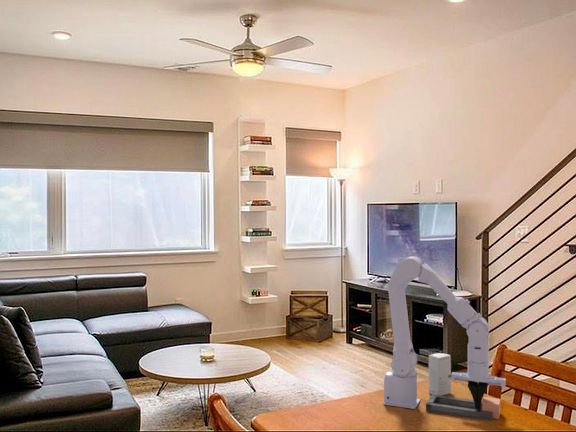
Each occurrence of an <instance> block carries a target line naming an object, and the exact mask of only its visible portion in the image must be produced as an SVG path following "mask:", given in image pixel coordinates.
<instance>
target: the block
mask: <svg viewBox="0 0 576 432" xmlns="http://www.w3.org/2000/svg"><path fill="white" fill-rule="evenodd" d="M482 410H483V411H490V412H493V419H494V420H495V419H496V420H500V418H501V417H500V415H501V398H497V397H496V398H495V397H488V396H483V398H482Z"/></svg>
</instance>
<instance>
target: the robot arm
mask: <svg viewBox="0 0 576 432" xmlns="http://www.w3.org/2000/svg"><path fill="white" fill-rule="evenodd" d="M416 278H417V281H416V282H419V283H421V284H422V283H423V284H427V286H429V287H430V288H431V289H432V290H433V291H434V292H435V293H436V294H437V295H438V296H439V297H440V298H441V299H442V300H443V301H444V303H446V304H447V311H448V312H449V314H450V315H451V316H452V317H453V318H454V319H455V320H456V321H457V322H458V324H459V325H460V326H461V327H462V328H464V329H466V335H467V336H468V343H467V372H457V371H456V372H455V371H451V382H452V381H454V382H456V381H458V382H467V388H468V390H469V392H470V394H471V396H472V400H474V404H475V409H476V410H477V409H479V410H480V408H481V401H482V402H483V398H484V395H485V393H486V391H487V389H488V386H489V385H491V386H500V387H502V388H506V378H505V377H498V376H494V375H490V373H489V372H490V371H489V370H490V369H489V366H490V365H489V364H490V362H489V361H490V357H489V356H490V355H489V354H490V349H489V347H490V345H489V335H490V325H489V323H488V321H487V319H486V318H484V317H482V314H481V313H480V312H477V311H476V310H475V309H474V308H473V307H472V305H470V303H471V301H470V300H469V299H467V298H466V299H465V298H464V297H462V296H456V295H455V294H454V293H453V291H451V289H450V288H449V287H448V286H447V284H446V283H445V282H444V281H443V279H442V278H441V277H440V276H439V275H438V274H437V272H435V271H434V269H432V267H431V266H430V265H429V264H427V263H426V262H424V260H423V259H422V258H421V257H419V256H417V255H411V256H408V257H407V258H404V259H401V261H400V262H399V263H398V264H397V265H395V267H394V270H393V273H392V274H391V276H390V279H389V280H388V282H387V289H388V290H387V291H388V301H389V310H390V318H391V325H392V326H391V327H392V334H393V335H392V337H393V349H392V360H391V364H390V366H391V370H392V371H386V373H385V374H384V379H383V405H384V406H385V405H386V406H393V407H398V408H404V409H405V408H406V409H410V410H416V408H417V407H418V406H419V403H420V402H421V398H418V397H417V396H418V373H417V371H416V369H415V367H416V365H417V363H418V354H417V353H416V352H415V350H414V346H413V345H414V344H413V342H412V339H411V331H410V323H409V316H408V305H407V298H406V297H407V295H406V287H407V286H409V284H410V283H411V282H412V281H413V280H416Z"/></svg>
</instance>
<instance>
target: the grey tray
mask: <svg viewBox="0 0 576 432" xmlns="http://www.w3.org/2000/svg"><path fill="white" fill-rule="evenodd" d="M482 402H483V400H482V401H481V408H480V410H479V409H475V404H474V400H473V399H466V398H459V397H454V396H446V395H441V396H439V395H433V394H431V395H430V397H429V398H428V399H427V401H426V403H425V411H426V412H431V413H437V414H442V415H443V414H445V415H449V416H450V415H451V416H458V417H463V418H464V417H465V418H469V419H477V420H483V421H490V422H493V419H494V418H493V412H490V411H483V410H482Z"/></svg>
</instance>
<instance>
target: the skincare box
mask: <svg viewBox="0 0 576 432" xmlns="http://www.w3.org/2000/svg"><path fill="white" fill-rule="evenodd" d="M451 360H452V357H451V354H447V353H443V352H437V353H433V354H428V394H431V395H439V396H446V395H449V394H451V393H452V380H451V374H452V361H451Z"/></svg>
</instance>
